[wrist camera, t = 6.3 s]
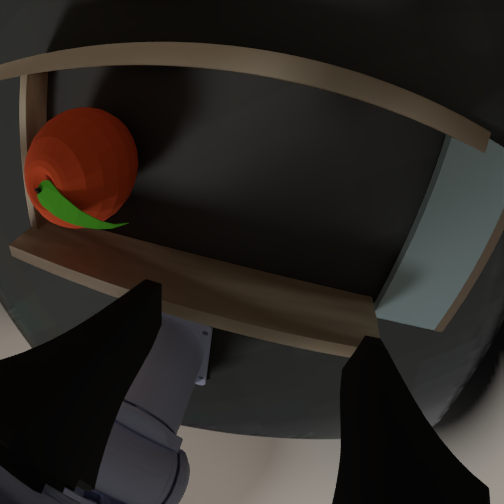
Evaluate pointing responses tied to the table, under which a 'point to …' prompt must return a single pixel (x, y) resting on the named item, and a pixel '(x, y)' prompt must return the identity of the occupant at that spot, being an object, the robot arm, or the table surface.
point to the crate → (195, 266)
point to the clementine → (81, 168)
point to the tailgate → (447, 238)
